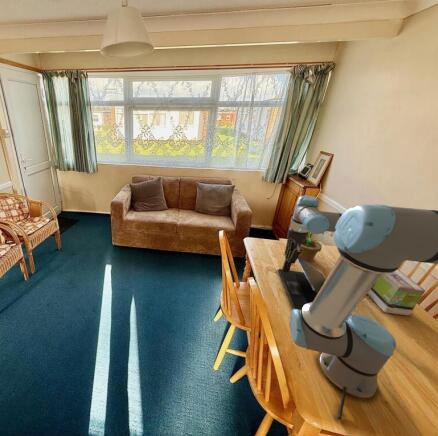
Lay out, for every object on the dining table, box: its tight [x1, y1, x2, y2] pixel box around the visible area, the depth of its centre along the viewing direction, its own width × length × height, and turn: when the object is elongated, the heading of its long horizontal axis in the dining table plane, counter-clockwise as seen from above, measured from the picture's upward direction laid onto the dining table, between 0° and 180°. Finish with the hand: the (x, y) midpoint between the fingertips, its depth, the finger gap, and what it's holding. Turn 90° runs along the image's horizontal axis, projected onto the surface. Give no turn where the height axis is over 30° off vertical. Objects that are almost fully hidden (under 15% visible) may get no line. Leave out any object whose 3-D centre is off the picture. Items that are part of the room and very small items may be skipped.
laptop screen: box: [296, 256, 351, 317], centre depth 110 cm, size 21×30×1 cm
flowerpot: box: [299, 232, 325, 263], centre depth 135 cm, size 14×14×30 cm
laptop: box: [277, 268, 348, 320], centre depth 114 cm, size 21×30×2 cm
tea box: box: [366, 268, 426, 316], centre depth 106 cm, size 15×10×15 cm
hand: (285, 271), depth 113 cm, fingers closed
